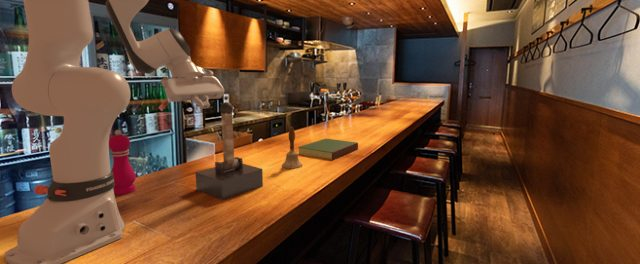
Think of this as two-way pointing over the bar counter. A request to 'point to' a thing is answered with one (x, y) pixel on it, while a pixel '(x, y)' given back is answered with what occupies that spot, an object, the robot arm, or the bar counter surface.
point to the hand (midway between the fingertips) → (205, 107)
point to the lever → (228, 137)
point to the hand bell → (292, 153)
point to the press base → (228, 180)
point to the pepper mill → (121, 164)
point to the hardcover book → (328, 148)
